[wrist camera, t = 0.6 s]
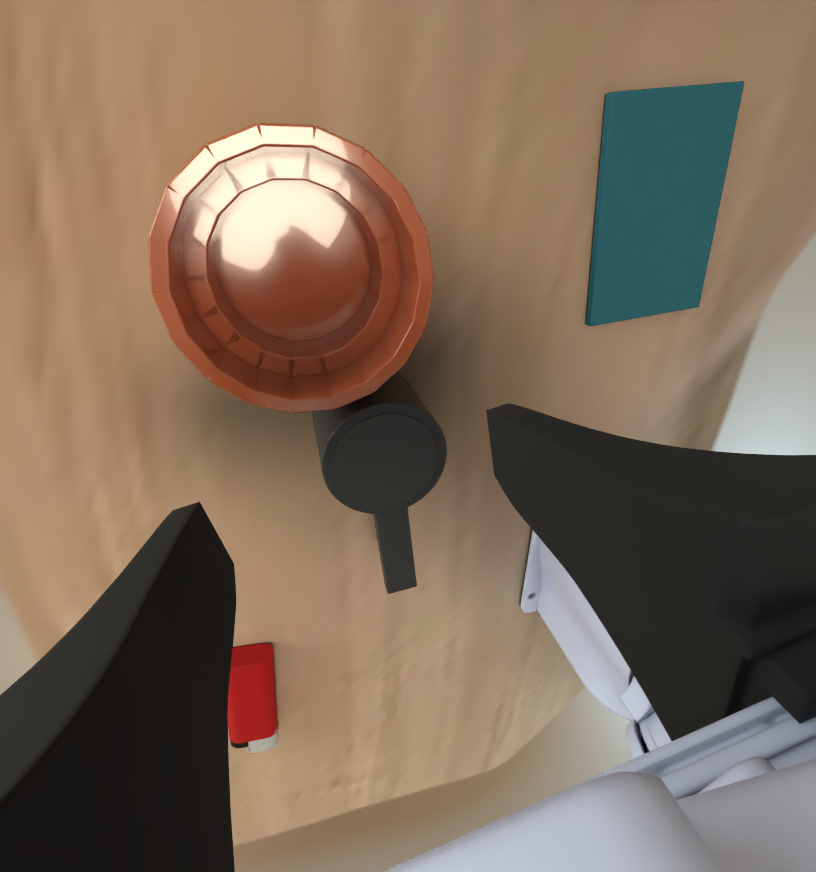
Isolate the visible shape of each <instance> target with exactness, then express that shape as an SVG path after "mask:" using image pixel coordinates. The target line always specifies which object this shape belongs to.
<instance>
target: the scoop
mask: <svg viewBox="0 0 816 872" xmlns="http://www.w3.org/2000/svg"><path fill="white" fill-rule="evenodd" d="M313 421H314V427H315V433H316V439H317V444H318V450H319V456H320V462H321V467H322V473H323V477H324V480H325V483H326V485H327V487H328V489H329V490H330V492H331V493H332V494H333V495H334V497H335V498H336V499H337V500H339V501H340V502H341V503H343V504H344V505H346V506H347V507H349V508H352V509H354V510H356V511H360V512H364V513H370V514H373V515H374V521H375V528H376V534H377V540H378V546H379V552H380V558H381V564H382V570H383V576H384V582H385V585H386V589H387V592H388V594H390V593H394V592H397V591H401V590H405V589H409V588H412V587H416V586H417V583H416V575H415V567H414V558H413V550H412V542H411V533H410V525H409V517H408V508H407V507H409V506H411V505H412V504H414V503H416V502H417V501H419V500H420V499H422V498H423V497H424V496H425V495H426V494H427V493H428V492H429V491H430V490H431V489H432V488H433V487H434V486H435V484H436V483H437V481H438V480H439V478H440V476H441V474H442V472H443V469H444V466H445V462H446V455H447V447H446V441H445V437H444V434H443V432H442V430H441V428H440V426H439V425H438V423H437V422H436V420H435V419H434V418H433V416H432V415H431V413H430V412H429V411H428V409H427V408H426V406H425V405H424V404H423V402H422V401H421V399H420V398H419V397H418V395H417V394H416V392H415V391H414V390H413V388H412V387H411V385H410V384H409V383H408V381H407V380H406V379H405V378H404V377H403V376H402V375H401V374H400V373H398V372H396V373H395V374H394V375H392V376H391V377H390V378H389V379H388V380H387V381H386V382H385V383H384V384H383V385H381V386H380V387H379V388H378V389H377V390H376V391H375V392H373V393H371V394H369V395H367V396H365V397H362V398H360V399H358V400H355V401H353V402H351V403H349V404H346V405H344V406H342V407H339V408H337V409H333V410H323V411H313Z"/></svg>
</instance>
